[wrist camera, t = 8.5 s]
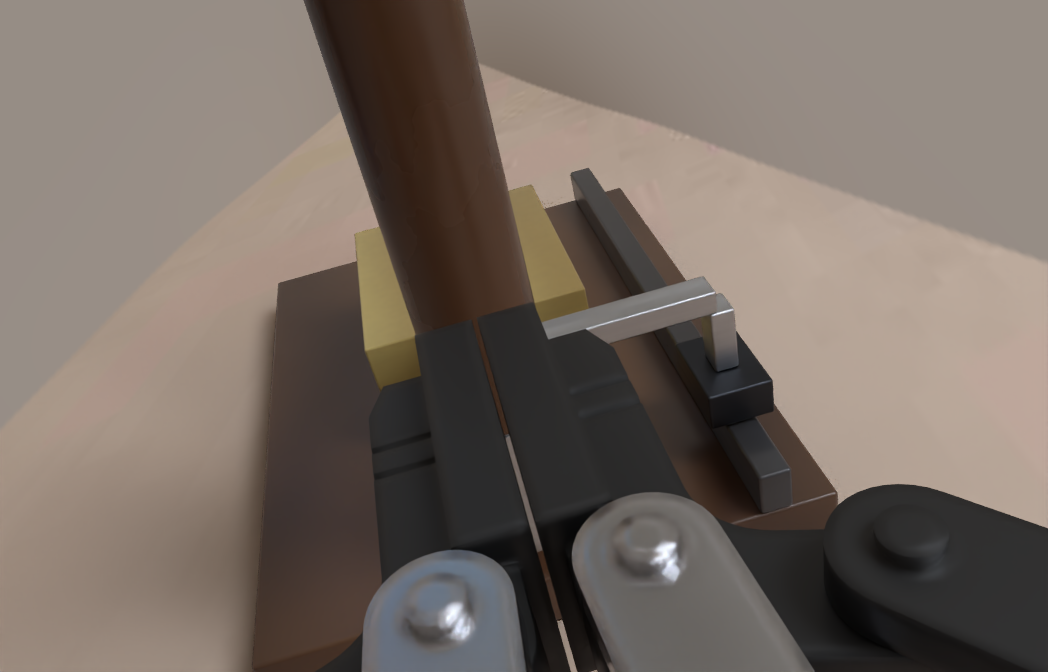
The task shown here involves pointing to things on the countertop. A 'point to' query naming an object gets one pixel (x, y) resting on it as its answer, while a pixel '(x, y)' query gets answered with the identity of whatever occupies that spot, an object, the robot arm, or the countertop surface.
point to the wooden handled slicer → (485, 201)
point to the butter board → (341, 454)
